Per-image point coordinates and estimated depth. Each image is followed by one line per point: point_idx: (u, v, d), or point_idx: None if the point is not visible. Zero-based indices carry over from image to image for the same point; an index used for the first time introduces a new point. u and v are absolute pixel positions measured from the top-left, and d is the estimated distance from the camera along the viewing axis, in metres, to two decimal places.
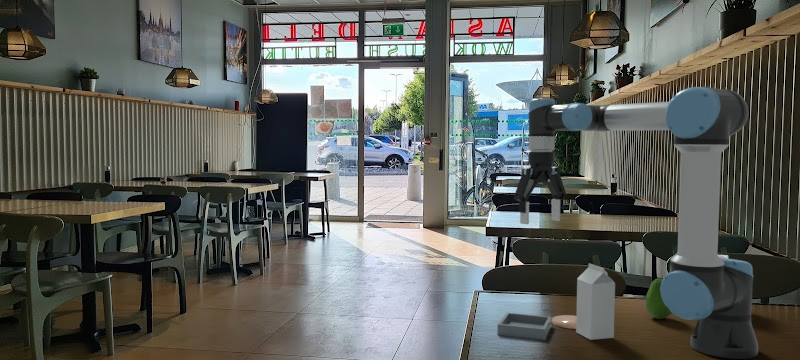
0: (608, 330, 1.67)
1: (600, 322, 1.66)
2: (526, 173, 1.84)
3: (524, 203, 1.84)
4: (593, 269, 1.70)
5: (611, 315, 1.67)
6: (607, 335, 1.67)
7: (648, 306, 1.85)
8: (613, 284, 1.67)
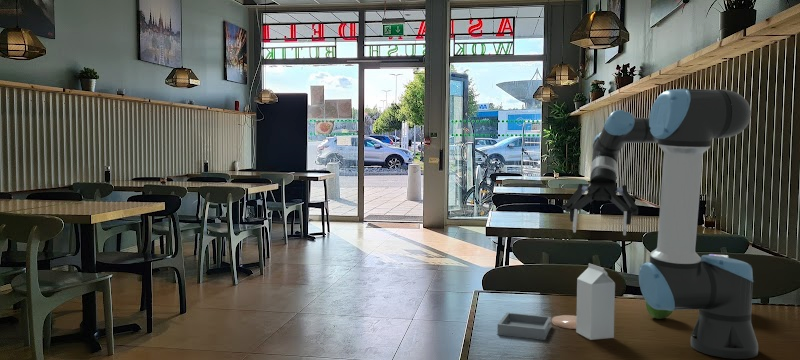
0: (608, 330, 1.67)
1: (600, 322, 1.66)
2: (577, 189, 1.90)
3: (572, 211, 1.85)
4: (593, 269, 1.70)
5: (611, 315, 1.67)
6: (607, 335, 1.67)
7: (648, 306, 1.85)
8: (613, 284, 1.67)
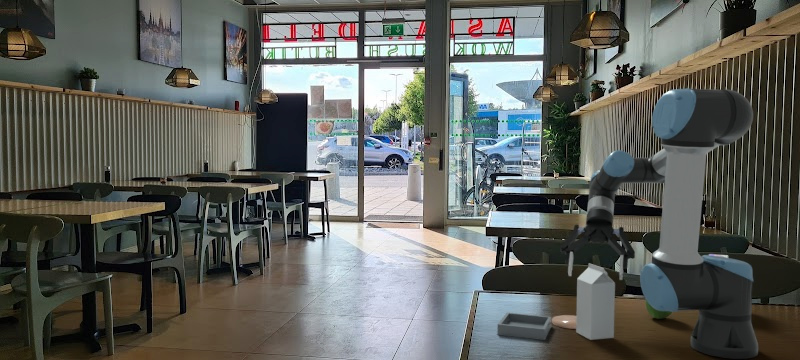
0: (608, 330, 1.67)
1: (600, 322, 1.66)
2: None
3: (568, 253, 1.81)
4: (593, 269, 1.70)
5: (611, 315, 1.67)
6: (607, 335, 1.67)
7: (648, 306, 1.85)
8: (613, 284, 1.67)
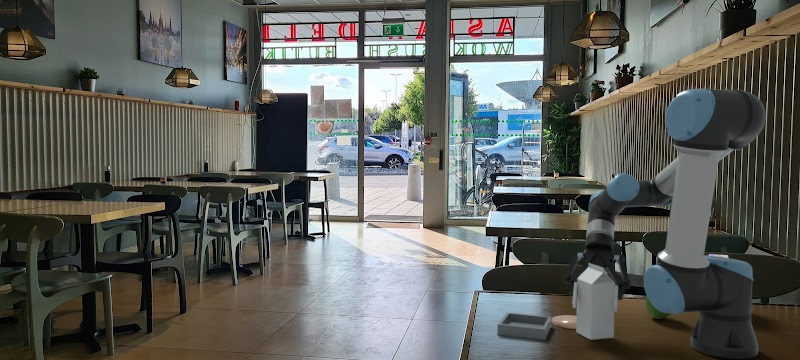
0: (608, 330, 1.67)
1: (600, 322, 1.66)
2: (573, 256, 1.78)
3: (572, 284, 1.72)
4: (593, 269, 1.70)
5: (611, 315, 1.67)
6: (607, 335, 1.67)
7: (648, 306, 1.85)
8: (613, 284, 1.67)
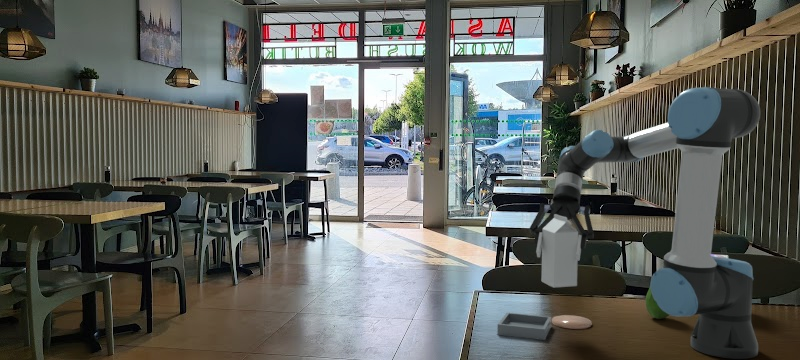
0: (572, 279, 1.71)
1: (563, 271, 1.70)
2: (540, 208, 1.81)
3: (537, 234, 1.76)
4: (557, 219, 1.73)
5: (574, 264, 1.71)
6: (570, 284, 1.71)
7: (648, 306, 1.85)
8: (576, 233, 1.70)
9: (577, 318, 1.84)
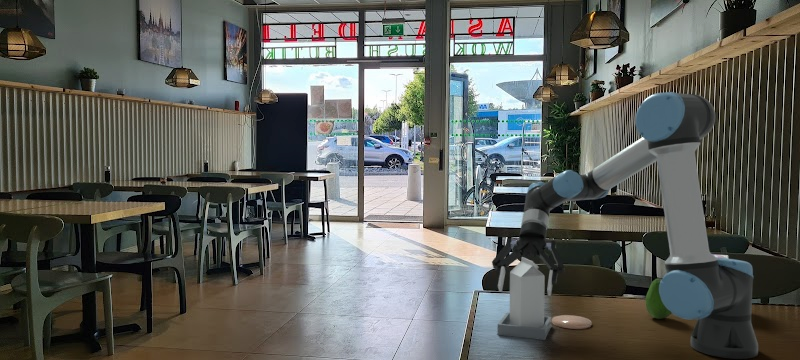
0: (538, 322, 1.72)
1: (530, 314, 1.71)
2: None
3: (499, 268, 1.78)
4: (524, 262, 1.74)
5: (541, 307, 1.72)
6: (537, 327, 1.72)
7: (648, 306, 1.85)
8: (543, 277, 1.71)
9: (577, 318, 1.84)
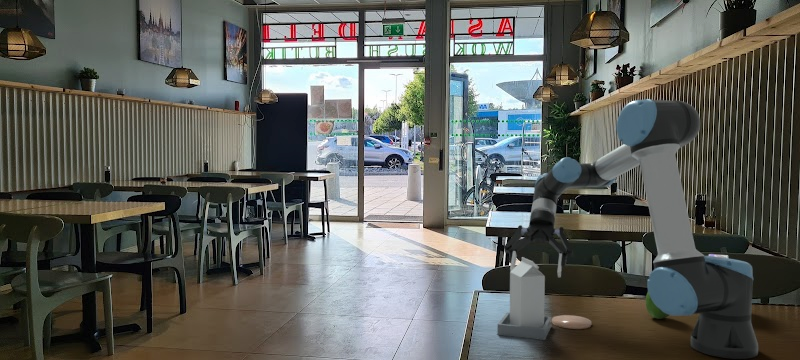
0: (538, 323, 1.72)
1: (530, 314, 1.71)
2: None
3: (511, 253, 1.91)
4: (525, 263, 1.74)
5: (541, 307, 1.72)
6: (537, 327, 1.72)
7: (648, 306, 1.85)
8: (543, 277, 1.71)
9: (577, 318, 1.84)
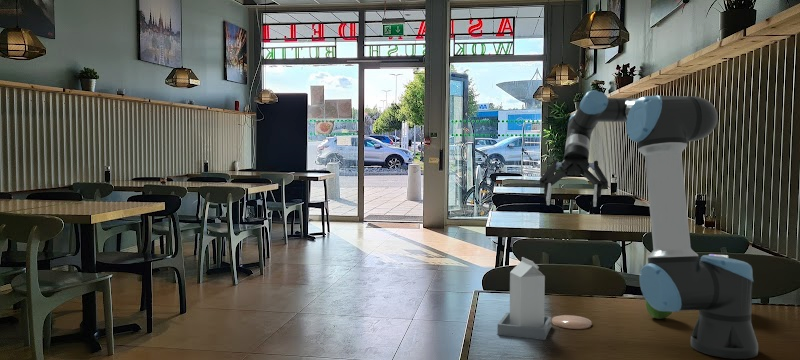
0: (538, 323, 1.72)
1: (530, 314, 1.71)
2: None
3: (546, 185, 1.95)
4: (525, 263, 1.74)
5: (541, 307, 1.72)
6: (537, 327, 1.72)
7: (648, 306, 1.85)
8: (543, 277, 1.71)
9: (577, 318, 1.84)
